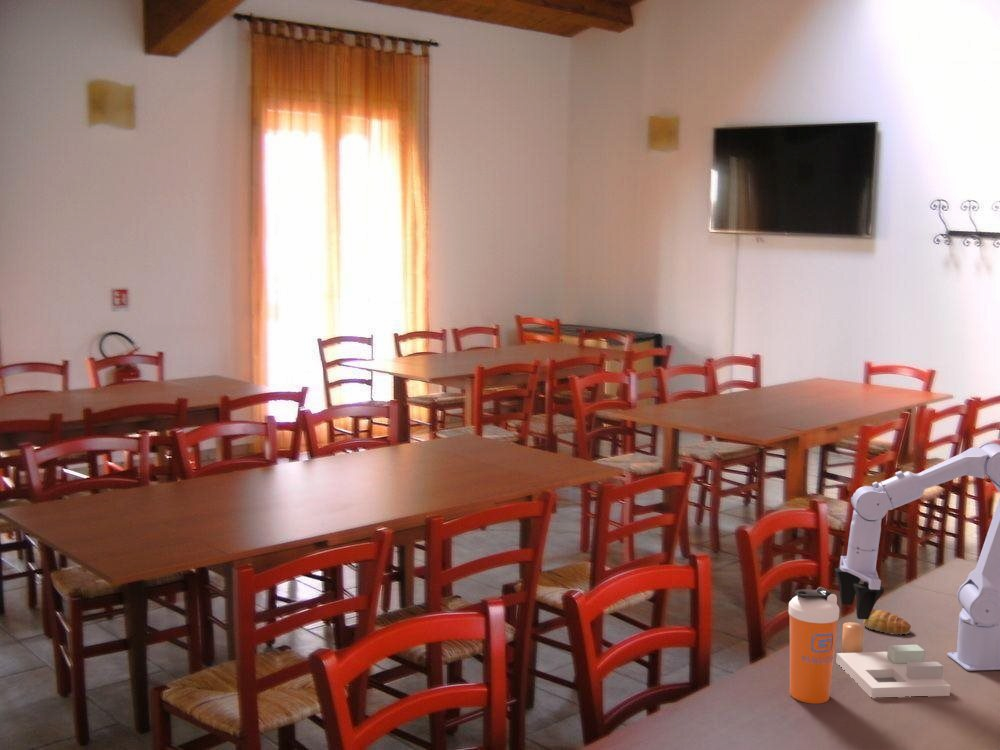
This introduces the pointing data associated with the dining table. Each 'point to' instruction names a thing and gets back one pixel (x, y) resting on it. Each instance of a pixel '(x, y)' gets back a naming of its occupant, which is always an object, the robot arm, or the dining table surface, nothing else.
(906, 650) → the block
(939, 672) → the housing
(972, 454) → the robot arm
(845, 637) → the peg
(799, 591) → the shaker bottle
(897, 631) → the pastry
